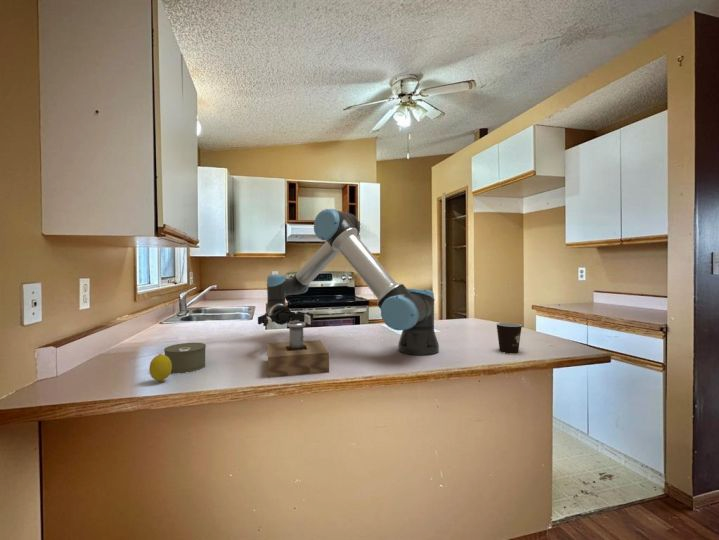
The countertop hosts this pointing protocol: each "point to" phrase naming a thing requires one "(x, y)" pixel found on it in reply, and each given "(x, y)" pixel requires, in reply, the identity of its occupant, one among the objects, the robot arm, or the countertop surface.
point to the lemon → (160, 367)
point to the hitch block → (297, 359)
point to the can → (186, 357)
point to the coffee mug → (509, 337)
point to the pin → (296, 335)
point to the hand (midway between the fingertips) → (290, 321)
